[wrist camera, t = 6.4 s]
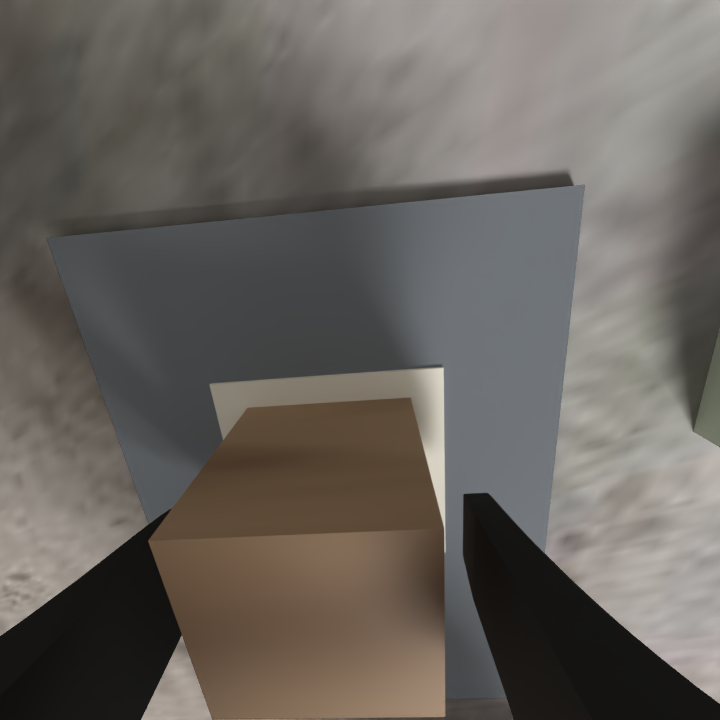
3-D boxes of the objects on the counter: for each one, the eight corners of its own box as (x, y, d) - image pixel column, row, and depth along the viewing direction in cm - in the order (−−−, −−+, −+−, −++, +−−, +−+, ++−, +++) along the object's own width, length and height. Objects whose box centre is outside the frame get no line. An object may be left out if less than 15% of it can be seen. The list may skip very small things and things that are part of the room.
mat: (524, 686, 15) (529, 700, 15) (216, 692, 16) (212, 706, 16) (575, 187, 9) (587, 183, 8) (58, 237, 10) (42, 237, 9)
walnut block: (415, 528, 12) (445, 716, 7) (273, 534, 12) (212, 719, 7) (410, 397, 10) (443, 528, 6) (247, 407, 11) (148, 540, 6)
